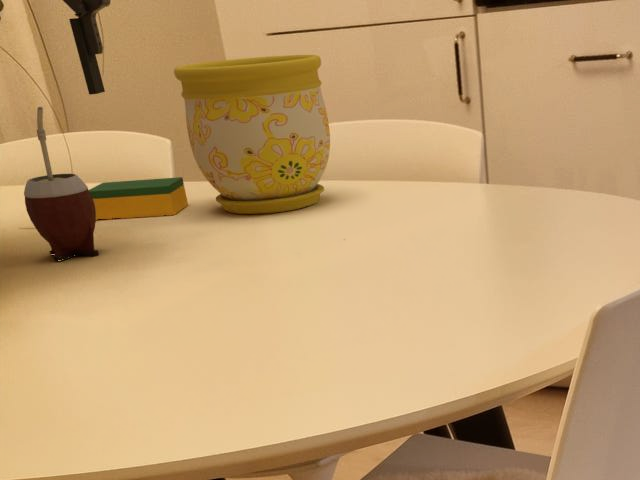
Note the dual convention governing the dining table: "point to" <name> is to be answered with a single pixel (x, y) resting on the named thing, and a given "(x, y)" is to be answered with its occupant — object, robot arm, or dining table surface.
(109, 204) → the sponge
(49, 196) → the mate gourd
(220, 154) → the flowerpot
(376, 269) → the dining table surface
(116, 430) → the dining table surface
